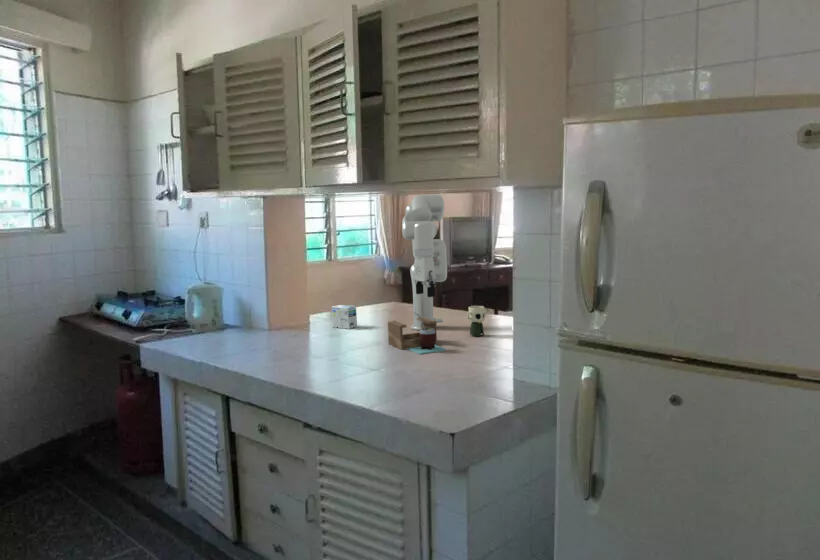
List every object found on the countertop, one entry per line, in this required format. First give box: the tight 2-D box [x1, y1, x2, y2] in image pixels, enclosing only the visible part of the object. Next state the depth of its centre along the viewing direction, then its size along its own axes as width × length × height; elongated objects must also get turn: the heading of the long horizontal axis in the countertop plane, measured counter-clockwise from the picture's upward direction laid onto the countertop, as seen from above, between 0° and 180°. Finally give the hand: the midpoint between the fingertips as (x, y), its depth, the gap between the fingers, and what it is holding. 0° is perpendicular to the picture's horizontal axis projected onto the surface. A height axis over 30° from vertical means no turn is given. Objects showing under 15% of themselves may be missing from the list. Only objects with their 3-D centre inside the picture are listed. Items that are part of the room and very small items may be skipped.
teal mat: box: [408, 344, 447, 355], centre depth 261 cm, size 12×10×1 cm
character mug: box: [466, 305, 487, 337], centre depth 285 cm, size 11×7×13 cm, turn 125°
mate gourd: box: [413, 311, 437, 350], centre depth 261 cm, size 8×8×15 cm
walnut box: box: [387, 317, 438, 351], centre depth 272 cm, size 17×12×10 cm
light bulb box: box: [331, 304, 358, 330], centre depth 316 cm, size 11×7×11 cm, turn 58°
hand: (425, 295), depth 259 cm, fingers open, 9 cm apart
